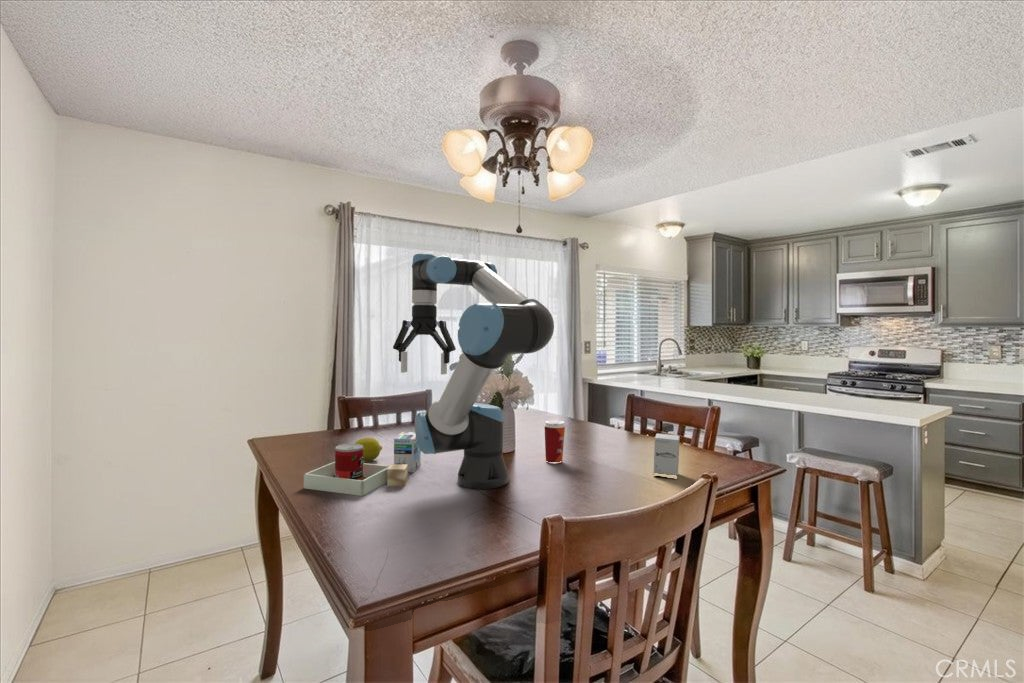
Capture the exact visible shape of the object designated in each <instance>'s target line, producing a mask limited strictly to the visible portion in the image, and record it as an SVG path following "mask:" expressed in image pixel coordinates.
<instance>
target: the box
mask: <svg viewBox="0 0 1024 683" xmlns="http://www.w3.org/2000/svg"><path fill="white" fill-rule="evenodd" d="M389 466H390V465H383V464H375V463H365V462H363V480H354V479H346V478H337V477H335V461H333V462H330V463H327V464H325V465H323V466H320V467H318V468H315V469H312V470H311V471H308V472H305V473H304V474H303V489H307V490H314V491H322V492H329V493H336V494H346V495H353V496H359V497H360V496H361V497H364V496H365V495H368V494H369V493H371V492H373V491H374V490H376V489H378V488H380V487H381V486H383V485H384V484H385V485H386V484H387V469H388V468H389Z"/></svg>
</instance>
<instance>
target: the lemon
mask: <svg viewBox="0 0 1024 683" xmlns="http://www.w3.org/2000/svg"><path fill="white" fill-rule="evenodd" d="M353 444H361V445H363V462H371V461H374V460H376V459H378V457H379V455H380V453H381V451H382V450H383V446H382V445H381V444H380V442H379V441H378V440H377V439H376V438H374V437H364V438H360V439H358V440H357V441H355V442H354V443H353Z"/></svg>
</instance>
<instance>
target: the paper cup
mask: <svg viewBox="0 0 1024 683" xmlns="http://www.w3.org/2000/svg"><path fill="white" fill-rule="evenodd" d="M543 427H544V446H545V448H544V449H545V462H546V461H548V462H560V461H562V462H563V458H564V457H563V456H564V455H563V454H564V444H565V432H566V423H565V421H563V420H557V419H554V420H553V419H550V420H545V422H544V424H543Z"/></svg>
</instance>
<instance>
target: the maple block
mask: <svg viewBox="0 0 1024 683" xmlns="http://www.w3.org/2000/svg"><path fill="white" fill-rule="evenodd" d="M388 466H389V468H388V469H387V483H386V484H387V487H406V484H407V483H408V481H409V480H408V479H409V478H408V477H409V472H408V464H394V463H390V465H388Z"/></svg>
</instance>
